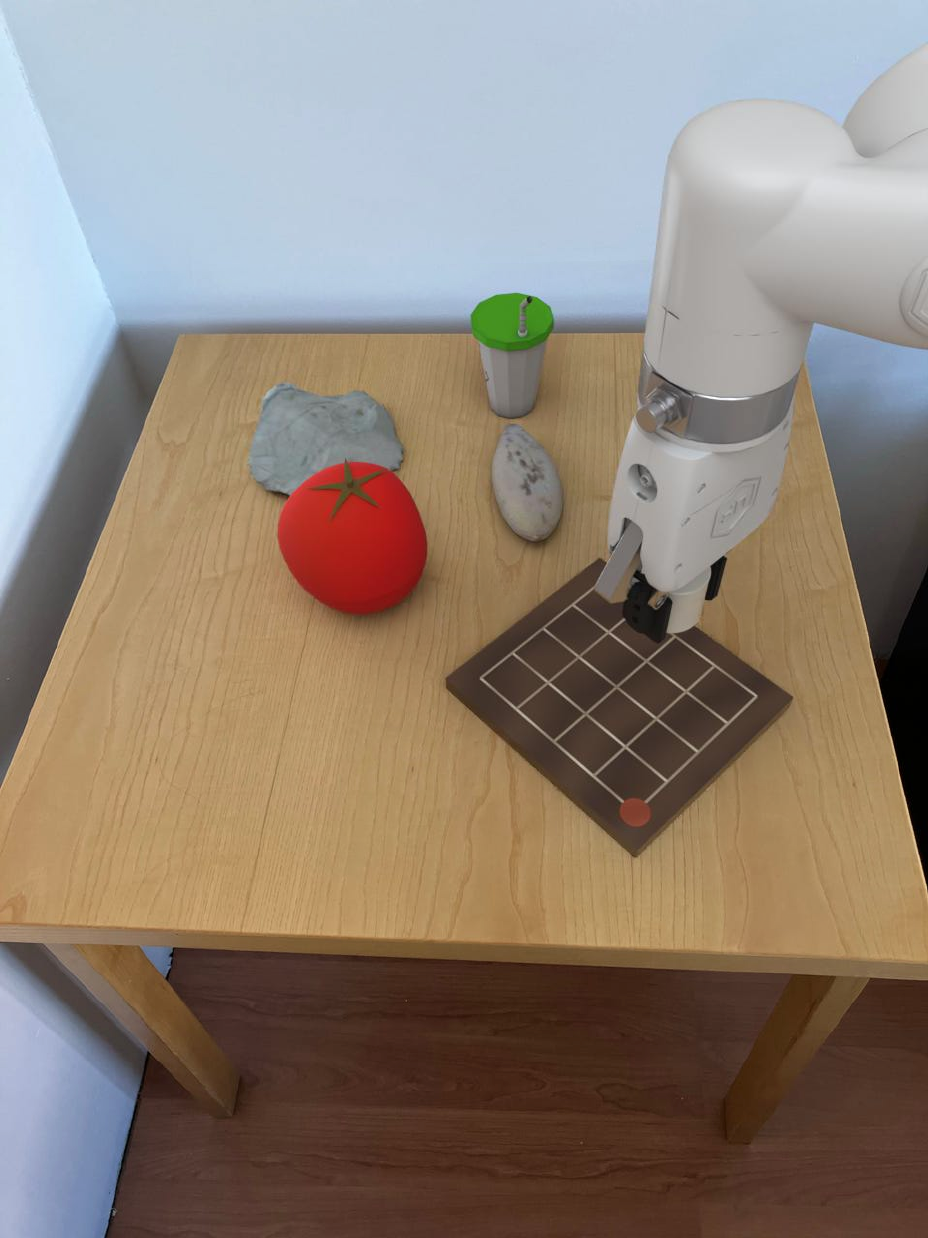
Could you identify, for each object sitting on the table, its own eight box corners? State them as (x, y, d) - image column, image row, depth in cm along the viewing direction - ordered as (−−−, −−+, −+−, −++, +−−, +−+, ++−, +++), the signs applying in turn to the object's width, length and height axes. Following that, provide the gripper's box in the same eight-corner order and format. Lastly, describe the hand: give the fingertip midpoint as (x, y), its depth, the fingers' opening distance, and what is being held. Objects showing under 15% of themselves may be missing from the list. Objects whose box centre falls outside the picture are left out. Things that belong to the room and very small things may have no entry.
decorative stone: (539, 433, 95) (540, 406, 92) (576, 548, 85) (578, 521, 83) (478, 442, 94) (477, 415, 92) (509, 558, 85) (509, 532, 82)
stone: (308, 511, 85) (205, 414, 90) (308, 541, 89) (209, 445, 94) (434, 433, 93) (333, 347, 97) (430, 463, 96) (332, 378, 101)
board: (789, 707, 74) (794, 696, 73) (635, 859, 67) (637, 849, 66) (598, 568, 84) (599, 556, 83) (445, 688, 77) (444, 677, 76)
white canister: (715, 608, 62) (725, 568, 59) (671, 644, 60) (680, 605, 57) (665, 572, 64) (673, 531, 61) (622, 606, 62) (627, 566, 59)
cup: (481, 375, 100) (477, 244, 89) (555, 382, 99) (561, 250, 87) (466, 425, 96) (460, 293, 84) (544, 433, 95) (548, 300, 83)
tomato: (454, 556, 85) (445, 451, 75) (400, 657, 79) (383, 556, 69) (331, 522, 89) (307, 416, 79) (269, 615, 82) (235, 513, 72)
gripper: (659, 503, 42) (622, 720, 57) (881, 338, 49) (797, 571, 63) (540, 422, 46) (534, 645, 61) (762, 278, 52) (708, 511, 67)
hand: (669, 605), depth 62 cm, fingers closed on white canister, 4 cm apart
